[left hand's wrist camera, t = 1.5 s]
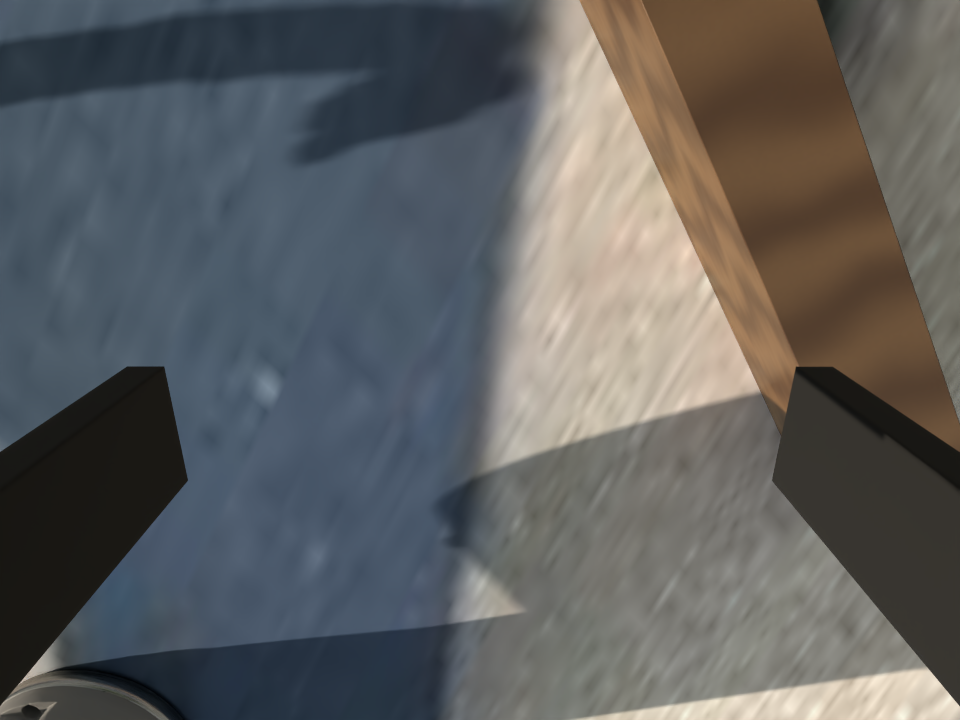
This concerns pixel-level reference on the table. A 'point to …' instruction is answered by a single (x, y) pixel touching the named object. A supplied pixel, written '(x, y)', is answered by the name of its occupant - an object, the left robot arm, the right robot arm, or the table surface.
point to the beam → (777, 193)
